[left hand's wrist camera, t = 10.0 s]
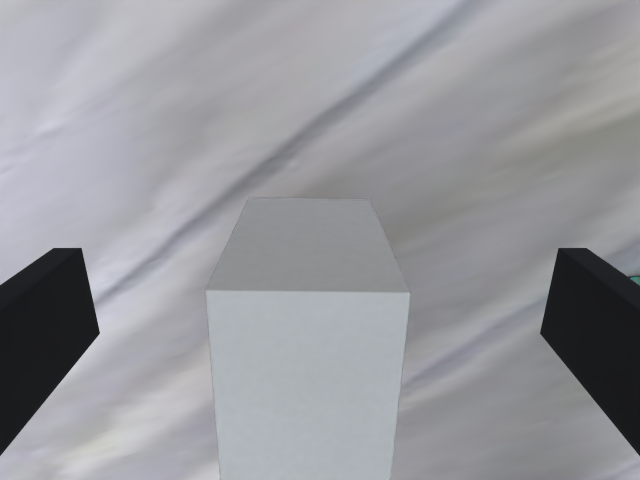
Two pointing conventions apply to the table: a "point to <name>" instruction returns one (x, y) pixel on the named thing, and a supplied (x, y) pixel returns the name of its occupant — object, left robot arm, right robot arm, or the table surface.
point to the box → (307, 342)
